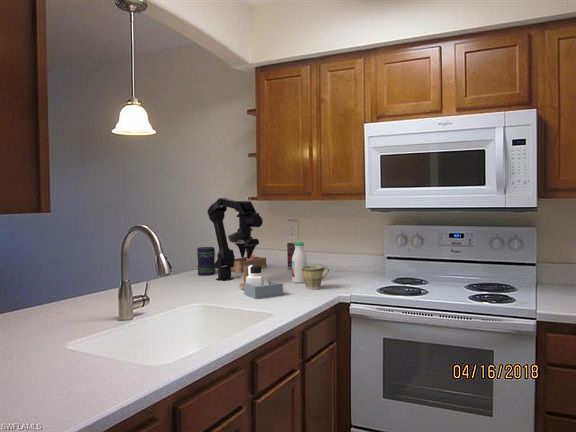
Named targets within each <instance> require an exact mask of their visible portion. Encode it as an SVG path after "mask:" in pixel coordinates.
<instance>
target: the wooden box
mask: <svg viewBox="0 0 576 432" xmlns="http://www.w3.org/2000/svg"><path fill="white" fill-rule="evenodd" d="M246 258H247V256H244V257H238V258H235V261H234V266H233V267H230V268H231V273H239V274H240V273H241V274H244V268H243V267H249V266H250V265H260V266H261V267H262V269H266V268H267V257H262V256H254V258H255V260H250V261H247V260H246Z"/></svg>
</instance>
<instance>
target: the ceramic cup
mask: <svg viewBox="0 0 576 432" xmlns="http://www.w3.org/2000/svg"><path fill="white" fill-rule="evenodd" d="M325 270H327V272H326V273H325V274H324V275H323V272H324V271H325ZM302 272H303V276H304V281H305V283H304V285H305V289H306V290H310V291H311V290H312V291H314V290H319V289H321V285H322V280H323V279H324V278H325V277H326V276H327V275H328V274H329V272H330V268H328V267H324V266H322V265H307V266H303V267H302Z"/></svg>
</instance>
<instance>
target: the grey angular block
mask: <svg viewBox="0 0 576 432" xmlns="http://www.w3.org/2000/svg"><path fill="white" fill-rule="evenodd" d="M243 294H244V295H245V296H247V297H250V298H252V299H255V300H257V299H264V298H271V297H279V296H283V295H284V283H282V282H278V281H276V280H272V279H269V280H268V284H266V285H265V284H264V286H254V285H251V284H248V283H244V289H243Z"/></svg>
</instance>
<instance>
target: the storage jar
mask: <svg viewBox="0 0 576 432" xmlns="http://www.w3.org/2000/svg"><path fill="white" fill-rule="evenodd" d="M196 251H197V253H196V255H197V257H196V258H197V276H199V277H207V276H214V275H216V268H215V265H214V264H215V263H216V260H215V257H216V252H215V247H214V246H201V247H197V250H196Z"/></svg>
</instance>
